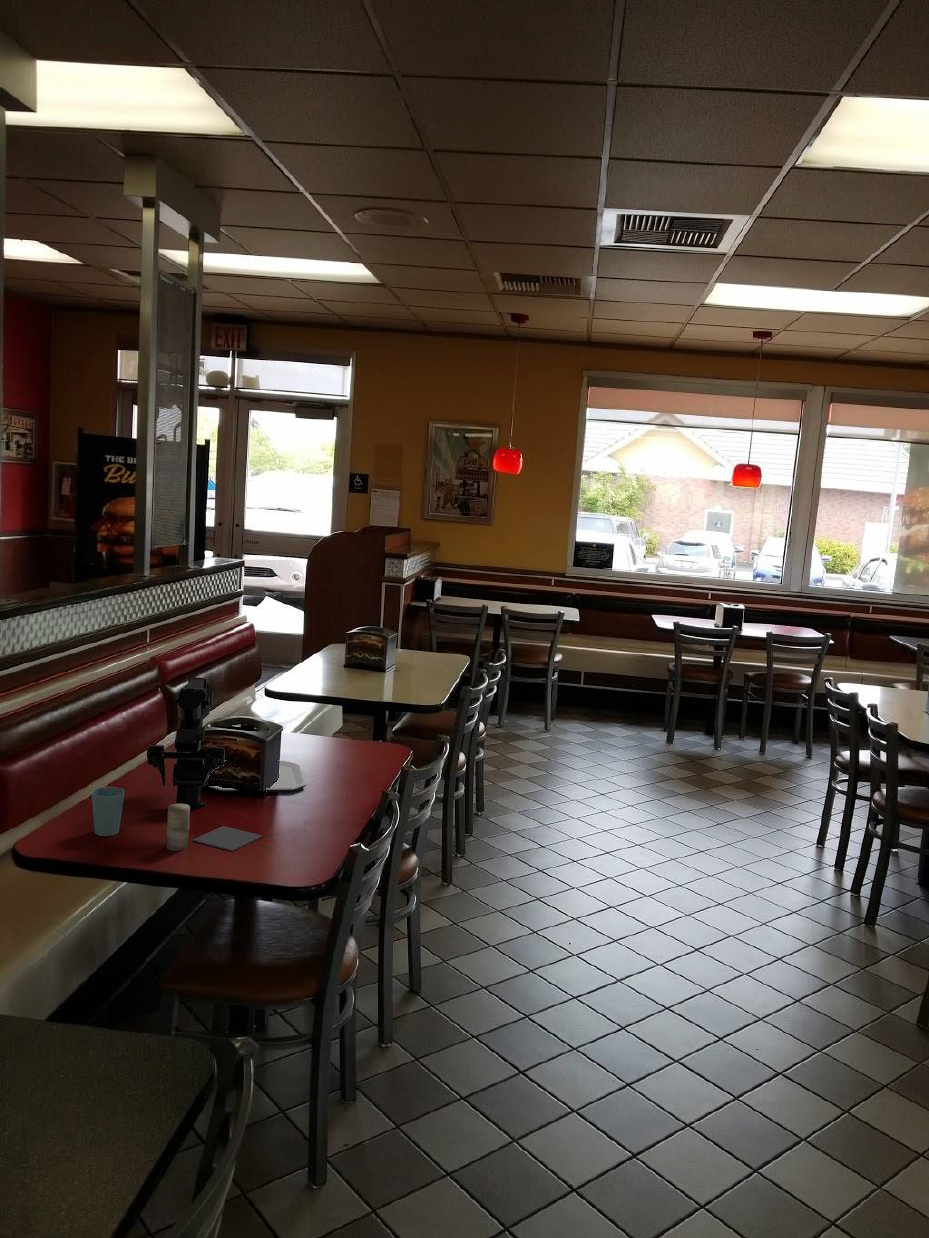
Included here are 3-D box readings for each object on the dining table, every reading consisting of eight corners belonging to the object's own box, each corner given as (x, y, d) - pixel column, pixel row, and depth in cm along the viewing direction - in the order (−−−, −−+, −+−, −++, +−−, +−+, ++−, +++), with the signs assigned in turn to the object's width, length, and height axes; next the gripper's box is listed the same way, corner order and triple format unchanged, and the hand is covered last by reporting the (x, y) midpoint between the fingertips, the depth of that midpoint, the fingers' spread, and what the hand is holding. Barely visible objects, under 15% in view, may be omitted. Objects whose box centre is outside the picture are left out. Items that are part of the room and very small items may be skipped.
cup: (123, 826, 239) (124, 786, 238) (123, 837, 232) (125, 795, 231) (91, 827, 237) (92, 787, 235) (90, 838, 229) (91, 797, 228)
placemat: (223, 827, 244) (223, 825, 244) (262, 837, 239) (262, 835, 239) (192, 841, 233) (192, 839, 233) (232, 851, 228) (233, 850, 228)
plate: (204, 796, 268) (205, 789, 267) (204, 766, 295) (204, 760, 295) (307, 795, 276) (308, 788, 275) (298, 766, 303) (298, 760, 303)
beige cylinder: (175, 841, 232) (177, 802, 230) (192, 846, 230) (194, 806, 229) (161, 847, 227) (163, 807, 226) (178, 852, 225) (180, 811, 224)
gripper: (149, 713, 236) (141, 769, 227) (226, 716, 240) (221, 771, 230) (152, 736, 245) (144, 791, 235) (226, 738, 248) (222, 792, 239)
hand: (183, 785), depth 235 cm, fingers open, 9 cm apart
